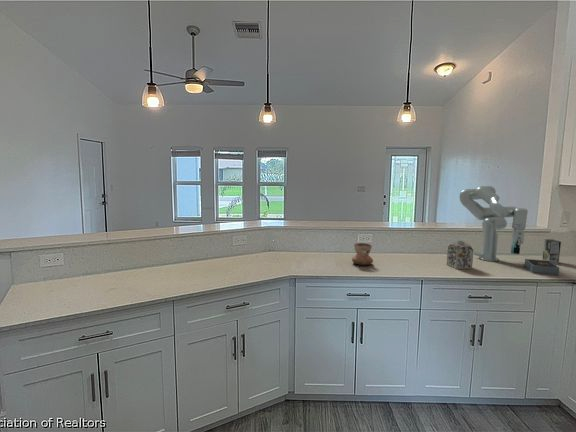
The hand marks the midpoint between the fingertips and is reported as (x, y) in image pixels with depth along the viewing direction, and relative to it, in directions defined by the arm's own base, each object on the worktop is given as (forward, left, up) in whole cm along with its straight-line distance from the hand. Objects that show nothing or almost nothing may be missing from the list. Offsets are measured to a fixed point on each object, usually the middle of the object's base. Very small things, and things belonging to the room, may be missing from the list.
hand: (515, 251), depth 229 cm
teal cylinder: (0, 0, -1) cm, 1 cm away
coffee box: (+27, +22, -10) cm, 36 cm away
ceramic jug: (-98, -35, -10) cm, 105 cm away
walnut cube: (+14, -10, -9) cm, 19 cm away
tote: (+14, -6, -10) cm, 18 cm away
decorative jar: (-35, -17, -10) cm, 40 cm away
